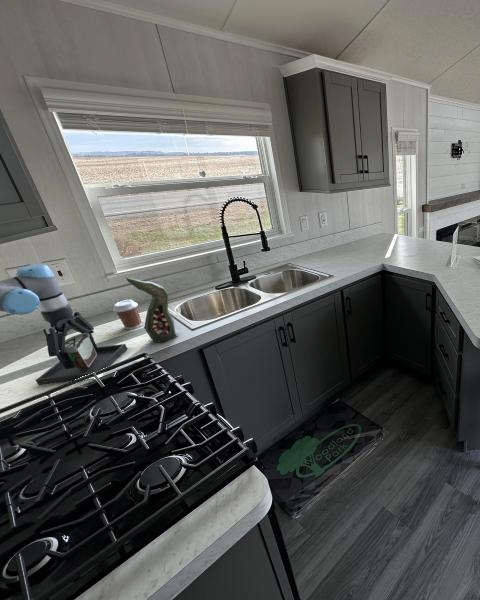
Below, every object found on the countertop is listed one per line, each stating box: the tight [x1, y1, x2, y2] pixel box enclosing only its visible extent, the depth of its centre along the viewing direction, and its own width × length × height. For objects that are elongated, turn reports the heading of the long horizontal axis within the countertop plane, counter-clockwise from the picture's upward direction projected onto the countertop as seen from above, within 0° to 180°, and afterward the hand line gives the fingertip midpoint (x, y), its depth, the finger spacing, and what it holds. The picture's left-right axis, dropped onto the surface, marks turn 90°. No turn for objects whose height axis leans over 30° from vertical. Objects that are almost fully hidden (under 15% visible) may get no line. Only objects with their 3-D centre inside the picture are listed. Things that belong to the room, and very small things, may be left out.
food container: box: [64, 332, 97, 369], centre depth 123 cm, size 12×6×10 cm, turn 25°
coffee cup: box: [112, 299, 143, 330], centre depth 152 cm, size 9×9×12 cm
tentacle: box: [125, 277, 177, 343], centre depth 138 cm, size 9×12×30 cm
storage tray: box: [35, 343, 128, 386], centre depth 126 cm, size 20×19×2 cm
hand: (82, 358), depth 125 cm, fingers closed on food container, 12 cm apart
